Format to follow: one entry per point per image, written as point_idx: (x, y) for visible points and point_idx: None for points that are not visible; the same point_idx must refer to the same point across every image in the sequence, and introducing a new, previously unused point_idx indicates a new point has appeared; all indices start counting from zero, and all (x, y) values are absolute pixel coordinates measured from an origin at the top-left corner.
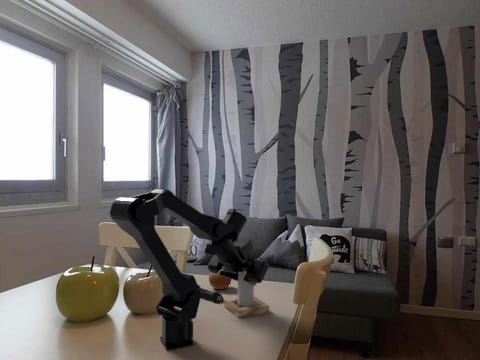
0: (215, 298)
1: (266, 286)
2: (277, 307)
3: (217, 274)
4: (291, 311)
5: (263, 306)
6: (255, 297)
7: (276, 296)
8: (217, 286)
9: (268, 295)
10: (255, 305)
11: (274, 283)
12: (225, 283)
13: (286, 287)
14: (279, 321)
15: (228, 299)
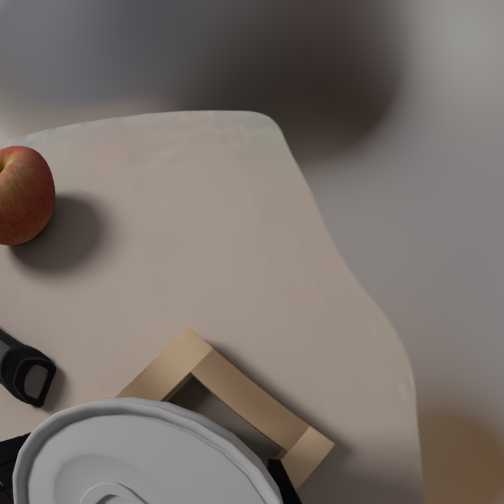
0: (21, 397)
1: (199, 147)
2: (336, 361)
3: None
4: (403, 376)
5: (312, 470)
6: (215, 354)
7: (277, 229)
8: (10, 244)
9: (239, 229)
10: (237, 414)
11: (220, 120)
12: (31, 225)
13: (274, 139)
14: (394, 500)
15: None
